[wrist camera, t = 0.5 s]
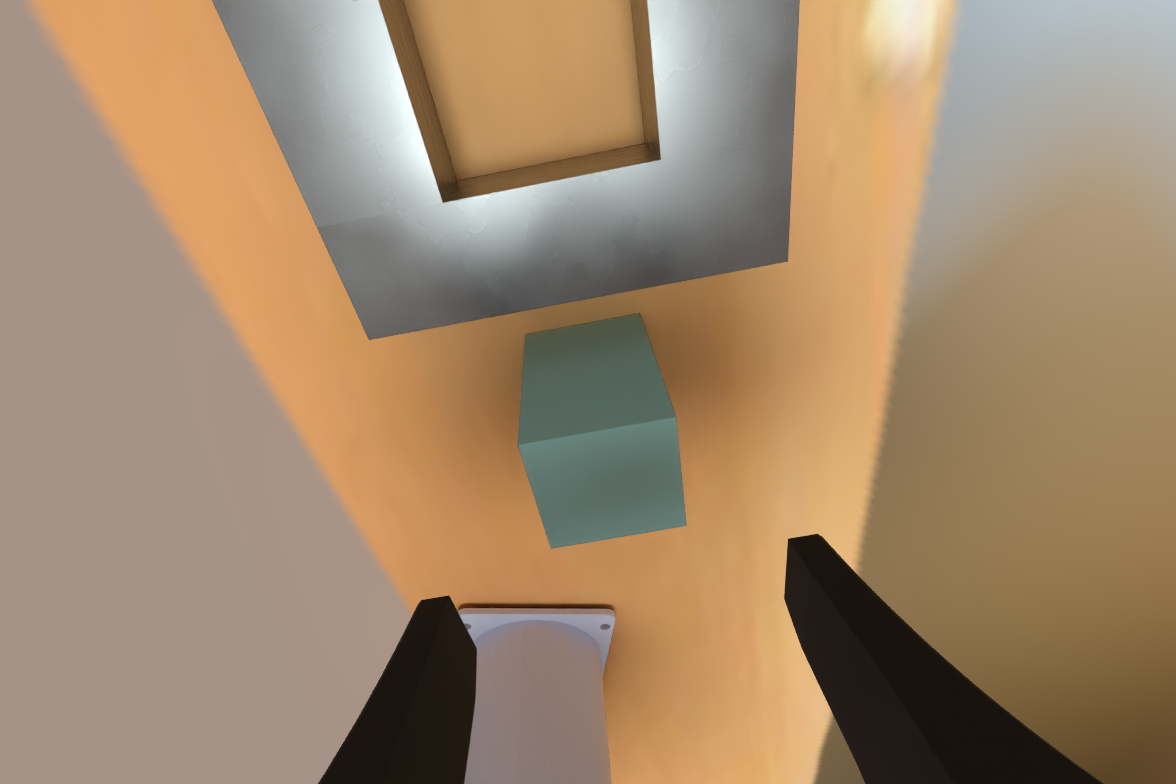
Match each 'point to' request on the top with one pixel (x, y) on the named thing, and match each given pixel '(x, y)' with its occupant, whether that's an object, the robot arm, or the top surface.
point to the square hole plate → (536, 193)
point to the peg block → (599, 433)
